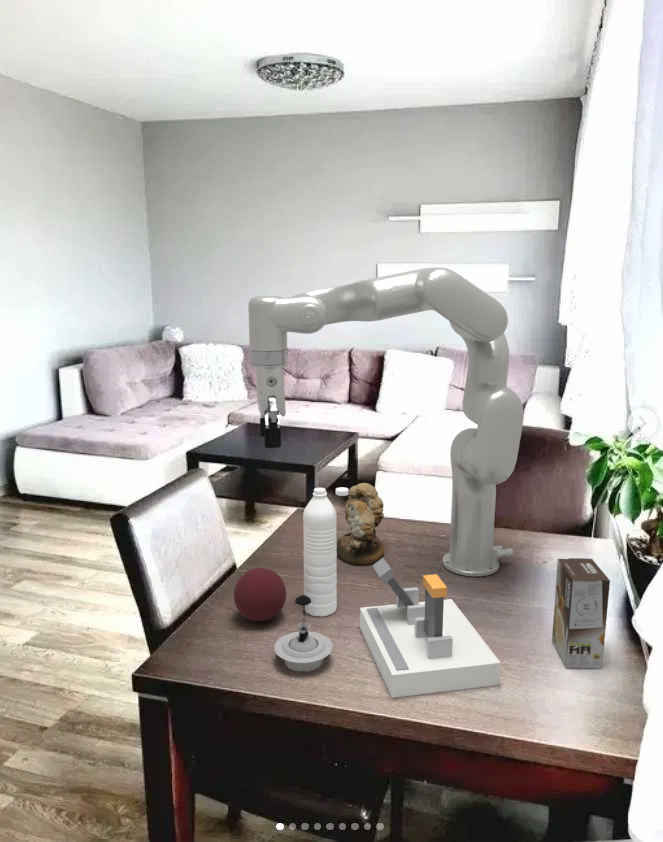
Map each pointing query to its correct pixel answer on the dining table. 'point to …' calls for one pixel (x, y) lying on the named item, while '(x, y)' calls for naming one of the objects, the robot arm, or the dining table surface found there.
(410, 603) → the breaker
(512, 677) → the dining table surface
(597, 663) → the coffee box
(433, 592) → the lever
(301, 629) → the gray round rimmed fixture
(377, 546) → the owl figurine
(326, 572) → the water bottle
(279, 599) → the decorative ball
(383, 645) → the box
